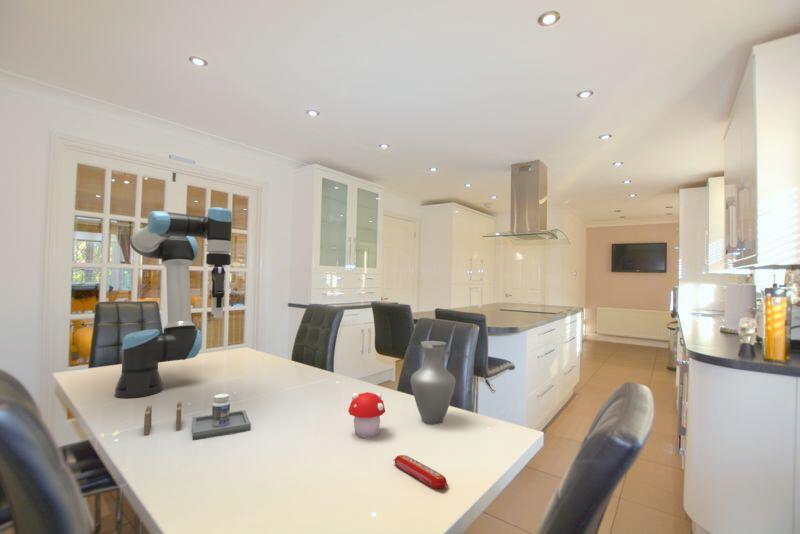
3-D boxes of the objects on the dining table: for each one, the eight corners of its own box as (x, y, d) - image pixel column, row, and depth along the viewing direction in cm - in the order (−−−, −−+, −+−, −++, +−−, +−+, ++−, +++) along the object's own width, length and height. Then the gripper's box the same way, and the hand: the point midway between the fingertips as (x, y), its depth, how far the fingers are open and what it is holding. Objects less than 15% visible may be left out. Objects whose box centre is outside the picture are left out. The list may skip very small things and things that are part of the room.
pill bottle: (222, 427, 111) (223, 398, 112) (208, 426, 112) (209, 397, 113) (232, 421, 116) (233, 393, 116) (219, 420, 117) (219, 392, 117)
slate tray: (192, 424, 116) (192, 417, 116) (244, 416, 123) (245, 409, 123) (192, 440, 105) (192, 432, 105) (250, 430, 112) (250, 423, 112)
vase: (460, 417, 126) (461, 341, 126) (447, 433, 113) (448, 348, 113) (419, 410, 132) (421, 337, 133) (402, 424, 119) (404, 343, 119)
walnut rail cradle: (146, 425, 114) (147, 405, 114) (181, 420, 119) (181, 401, 119) (143, 435, 107) (144, 414, 107) (180, 429, 112) (181, 409, 112)
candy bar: (450, 489, 83) (450, 475, 83) (438, 495, 81) (438, 480, 81) (402, 461, 95) (402, 449, 95) (390, 466, 93) (391, 453, 93)
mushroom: (390, 429, 114) (391, 389, 115) (376, 444, 104) (377, 400, 105) (358, 424, 118) (358, 385, 118) (341, 438, 108) (342, 395, 108)
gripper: (205, 254, 139) (203, 312, 138) (208, 250, 117) (205, 319, 117) (227, 255, 143) (225, 312, 142) (234, 252, 121) (232, 319, 120)
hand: (216, 315), depth 129 cm, fingers open, 13 cm apart
